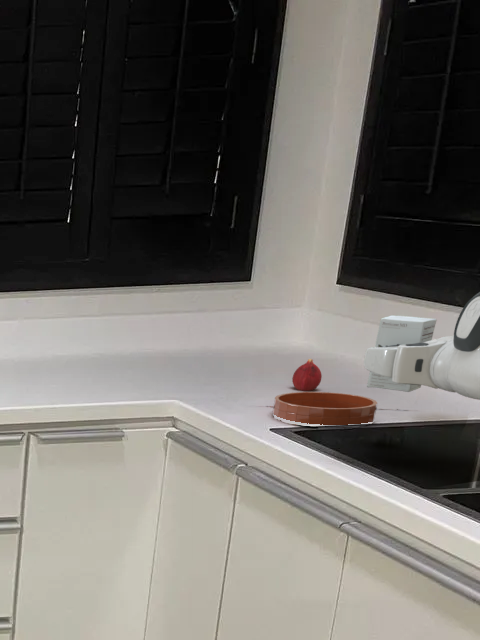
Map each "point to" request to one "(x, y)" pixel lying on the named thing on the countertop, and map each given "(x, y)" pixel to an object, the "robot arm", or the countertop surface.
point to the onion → (307, 376)
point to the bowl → (325, 408)
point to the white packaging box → (396, 334)
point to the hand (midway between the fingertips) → (405, 351)
